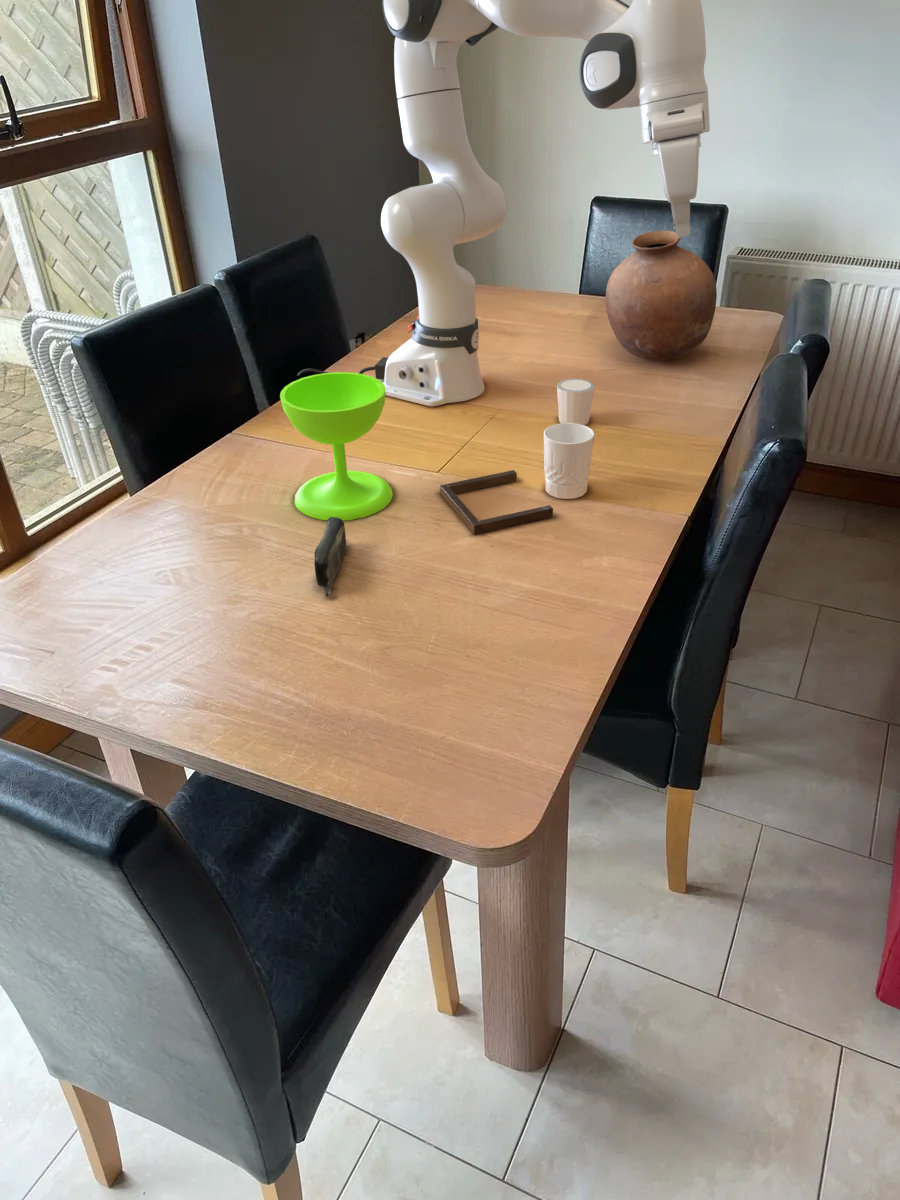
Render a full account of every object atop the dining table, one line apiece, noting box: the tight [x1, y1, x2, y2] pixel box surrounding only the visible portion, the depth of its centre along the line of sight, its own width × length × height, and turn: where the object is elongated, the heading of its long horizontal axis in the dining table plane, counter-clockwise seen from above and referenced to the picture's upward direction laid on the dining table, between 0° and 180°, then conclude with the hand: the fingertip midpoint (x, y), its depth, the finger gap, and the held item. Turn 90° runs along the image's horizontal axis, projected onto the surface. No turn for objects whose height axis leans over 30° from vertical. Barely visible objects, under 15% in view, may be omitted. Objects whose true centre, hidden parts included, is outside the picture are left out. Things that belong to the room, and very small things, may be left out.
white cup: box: [543, 422, 595, 500], centre depth 146 cm, size 8×8×10 cm
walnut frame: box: [439, 469, 554, 536], centre depth 145 cm, size 13×14×2 cm
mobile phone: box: [313, 517, 347, 597], centre depth 130 cm, size 5×3×15 cm
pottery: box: [604, 230, 718, 361], centre depth 193 cm, size 23×23×25 cm
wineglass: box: [279, 371, 394, 522], centre depth 144 cm, size 16×16×18 cm
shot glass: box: [556, 378, 595, 426], centre depth 170 cm, size 7×7×7 cm
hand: (681, 233), depth 128 cm, fingers open, 8 cm apart
